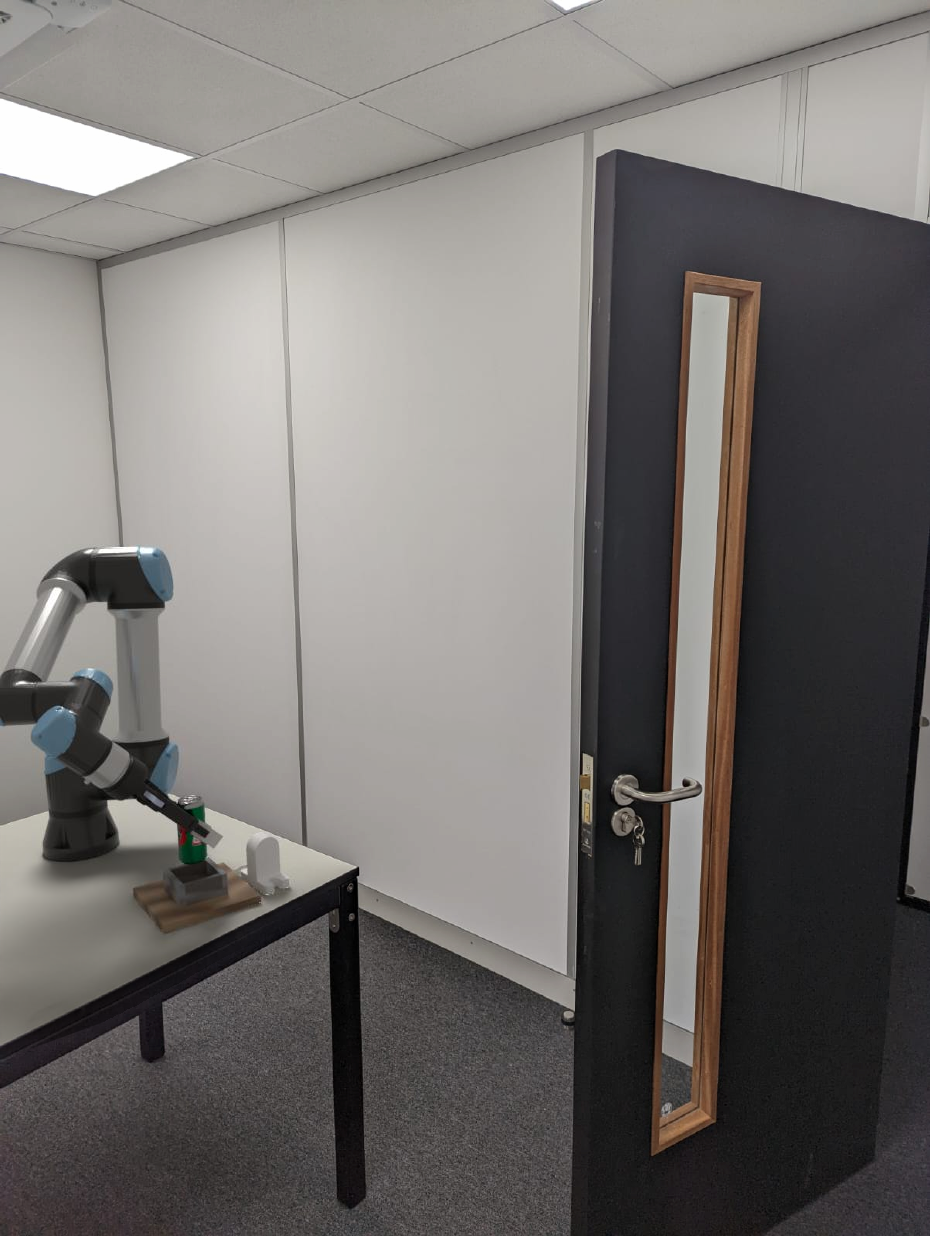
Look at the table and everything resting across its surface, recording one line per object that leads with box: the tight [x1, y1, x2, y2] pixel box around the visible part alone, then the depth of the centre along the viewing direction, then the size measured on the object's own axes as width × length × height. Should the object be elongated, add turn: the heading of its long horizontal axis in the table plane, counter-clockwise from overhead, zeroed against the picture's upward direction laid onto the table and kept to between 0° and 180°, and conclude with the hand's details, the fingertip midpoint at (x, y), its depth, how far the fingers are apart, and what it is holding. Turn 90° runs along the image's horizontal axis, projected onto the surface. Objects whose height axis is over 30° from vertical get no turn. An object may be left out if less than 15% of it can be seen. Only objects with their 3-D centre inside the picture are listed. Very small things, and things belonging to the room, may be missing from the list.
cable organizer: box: [240, 831, 290, 895], centre depth 169 cm, size 5×10×10 cm, turn 44°
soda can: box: [176, 794, 208, 865], centre depth 161 cm, size 5×5×12 cm
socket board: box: [132, 856, 262, 934], centre depth 163 cm, size 18×18×6 cm
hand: (211, 837), depth 164 cm, fingers closed on soda can, 5 cm apart
